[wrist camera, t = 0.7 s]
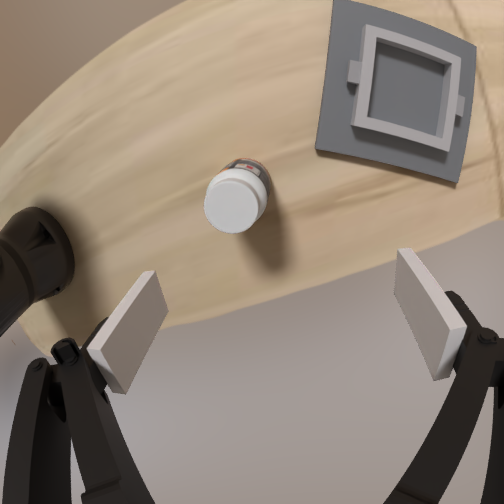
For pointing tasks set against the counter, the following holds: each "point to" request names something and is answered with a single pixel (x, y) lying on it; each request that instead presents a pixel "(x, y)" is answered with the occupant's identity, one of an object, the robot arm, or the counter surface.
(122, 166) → the counter surface
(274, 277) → the counter surface
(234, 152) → the counter surface
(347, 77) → the socket
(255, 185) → the pill bottle
